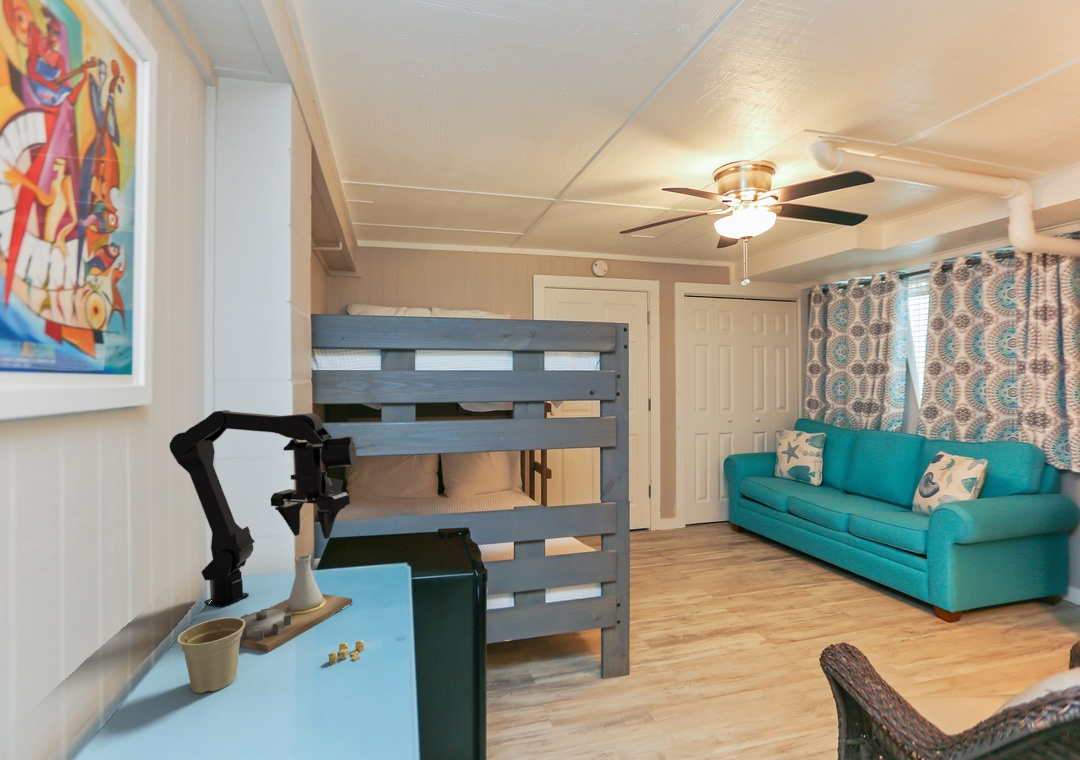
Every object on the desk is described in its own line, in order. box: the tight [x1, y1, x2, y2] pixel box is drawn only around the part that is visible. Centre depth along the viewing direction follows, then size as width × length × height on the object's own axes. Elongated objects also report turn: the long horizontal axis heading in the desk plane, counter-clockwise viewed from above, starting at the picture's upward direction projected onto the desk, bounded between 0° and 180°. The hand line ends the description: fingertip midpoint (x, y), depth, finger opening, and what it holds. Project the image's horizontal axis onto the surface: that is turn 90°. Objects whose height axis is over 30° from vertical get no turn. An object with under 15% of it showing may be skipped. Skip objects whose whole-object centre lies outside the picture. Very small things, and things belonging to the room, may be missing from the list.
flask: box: [286, 554, 324, 611], centre depth 112 cm, size 7×7×10 cm
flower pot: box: [176, 616, 245, 694], centre depth 86 cm, size 9×9×9 cm
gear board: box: [239, 593, 353, 653], centre depth 108 cm, size 14×22×4 cm, turn 157°
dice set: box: [328, 639, 365, 665], centre depth 93 cm, size 5×5×2 cm
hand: (311, 536), depth 122 cm, fingers open, 9 cm apart
